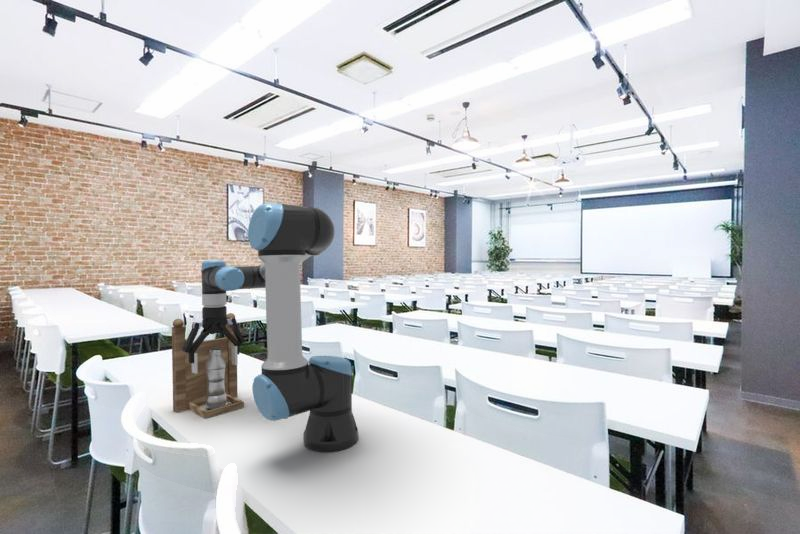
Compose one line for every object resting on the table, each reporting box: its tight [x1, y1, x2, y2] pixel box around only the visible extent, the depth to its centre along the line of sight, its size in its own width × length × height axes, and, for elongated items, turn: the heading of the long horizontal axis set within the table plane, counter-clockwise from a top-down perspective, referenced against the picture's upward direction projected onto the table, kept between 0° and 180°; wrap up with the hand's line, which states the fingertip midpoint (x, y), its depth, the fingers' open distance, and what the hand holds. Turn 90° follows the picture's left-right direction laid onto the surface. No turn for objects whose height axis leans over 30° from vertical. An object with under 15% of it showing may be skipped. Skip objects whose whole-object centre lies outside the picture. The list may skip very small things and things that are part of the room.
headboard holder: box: [171, 312, 245, 419], centre depth 140 cm, size 15×21×31 cm
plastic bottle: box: [205, 348, 227, 410], centre depth 140 cm, size 6×7×20 cm
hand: (215, 368), depth 140 cm, fingers open, 13 cm apart
